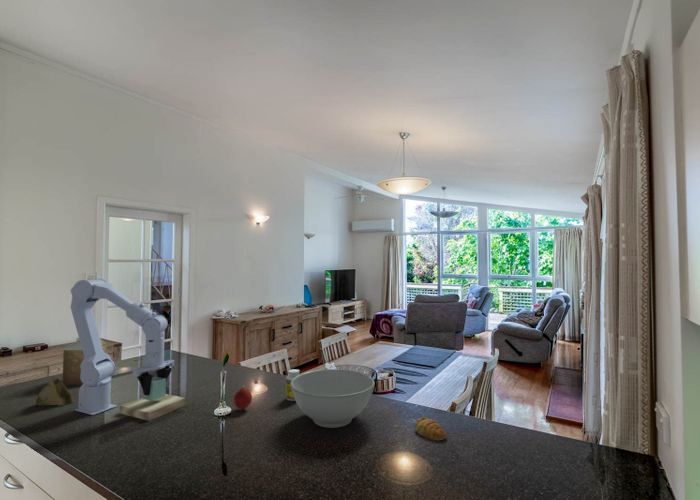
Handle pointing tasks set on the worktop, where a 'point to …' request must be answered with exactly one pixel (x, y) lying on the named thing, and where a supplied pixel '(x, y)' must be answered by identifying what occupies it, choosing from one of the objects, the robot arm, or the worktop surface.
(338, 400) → the decorative bowl
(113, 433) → the worktop surface
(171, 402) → the birch base board
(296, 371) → the supplement bottle
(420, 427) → the pastry
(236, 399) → the onion
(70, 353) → the tan tall block
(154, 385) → the teal block
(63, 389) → the rock
